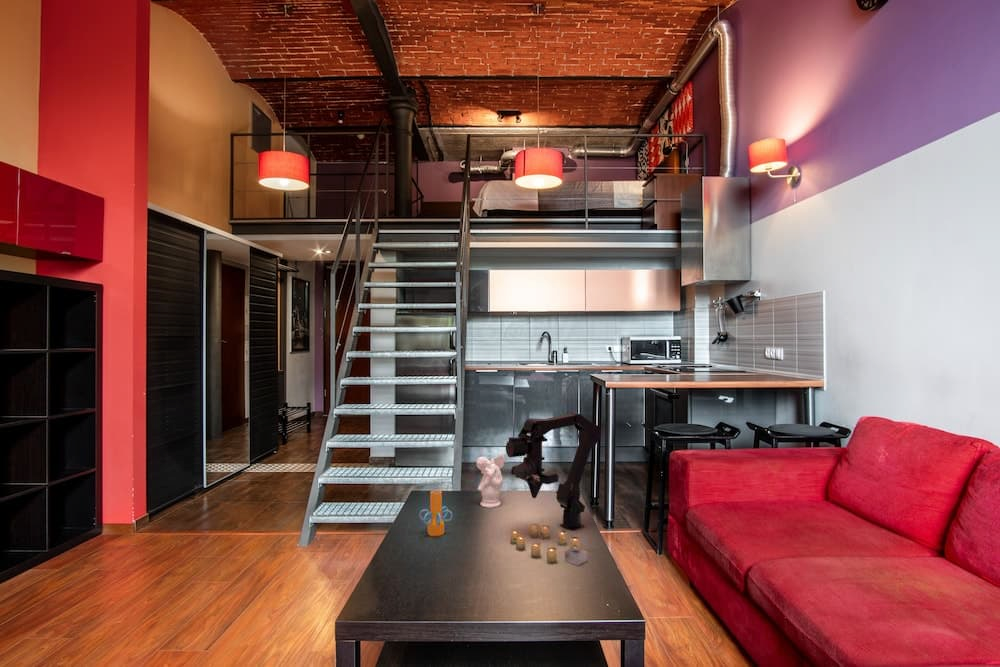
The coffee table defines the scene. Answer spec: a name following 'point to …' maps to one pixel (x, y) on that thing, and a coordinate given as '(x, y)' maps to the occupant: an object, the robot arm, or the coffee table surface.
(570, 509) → the robot arm
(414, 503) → the coffee table surface
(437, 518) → the orange column with rings
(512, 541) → the spacers
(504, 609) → the coffee table surface
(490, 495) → the cherub figurine
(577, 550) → the zinc nut
